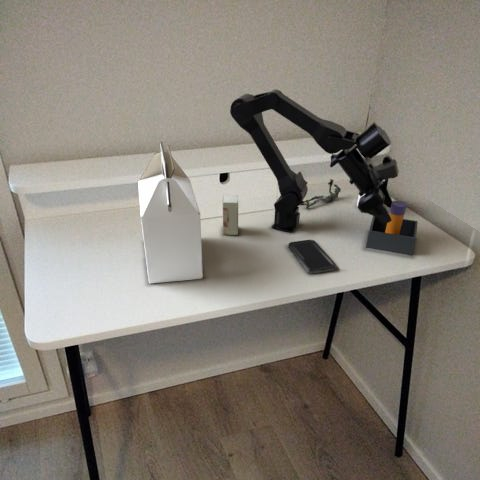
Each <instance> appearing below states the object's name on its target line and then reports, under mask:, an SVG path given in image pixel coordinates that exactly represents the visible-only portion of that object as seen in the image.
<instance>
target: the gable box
mask: <svg viewBox="0 0 480 480" xmlns="http://www.w3.org/2000/svg"><path fill="white" fill-rule="evenodd" d="M159 145H160V146H159V147H160V151H158V152H156V153H154V154H153V156H152V157H151V159H150V160H149V162H148V165H146V168H145V170H144V171H143V173H142V174H141V176H140V178H139V180H138V181H137V187H138V189H137V190H138V201H139V214H140V224H141V232H142V240H143V248H144V255H145V264H146V272H147V279H148V283H149V284H161V283H170V282H171V283H173V282H179V281H180V282H181V281H192V280H202V279H203V276H204V273H203V272H204V271H203V249H202V248H203V247H202V225H201V224H202V222H201V220H202V219H201V212H200V207H199V205H198V202H197V199H196V196H195V195H196V194H195V192H194V189H193V186H192V182H191V179H190V178H189V177H188V176H187V174H186V173H185V171H184V170H183V169H182V167H181V166H180V165H179V164H178V162H177V161H176V160H175V159H174V157H173V156H172V152H171V148H170V145H167V147H166V150H165V148H164V143H163V141H159Z"/></svg>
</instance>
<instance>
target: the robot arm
mask: <svg viewBox="0 0 480 480" xmlns="http://www.w3.org/2000/svg"><path fill="white" fill-rule="evenodd" d="M229 109H230V110H229V113H230V117H231V118H232V119H233V121H235V123H236V125H238V126H239V127H240V128H241V129H242V130H244V131H245V132H246V133H247V134H248V135H249V136H250V137H251V139H252V140H253V142H254V144H255V146H256V147H257V149H258V151H259V152H260V154H261V155H262V157H263V159H264V161H265V162H266V164H267V166H268V167H269V169H270V171H271V172H272V174H273V175H274V177H275V179H276V181H277V186H278V192H279V194H280V195H279V196H278V198H277V199H276V201H275V202H274V204H273V207H274V219H273V220H274V221H273V224H272V225H271V229H275V230H278V231H283V232H287V233H293V232H294V231H295V230H296V229H297V228H298V227H300V218H301V213H300V211H299V210H300V207H299V206H301V205H300V204H301V203H302V201H304V199H305V197H306V196H307V194H308V190H309V189H308V181H307V180H305V178H304V175H303V174H302V172H301V171H298V172H297V173H296V172H294V171H293V170H292V169H291V168H290V166H289V164H288V162H287V160H286V159H285V157H284V155H283V154H282V152H281V150H280V148H279V147H278V145H277V144H276V142H275V140H274V138H273V136H272V135H271V133H270V132H269V130H268V128H267V127H266V125H265V122H264V115H263V113H264V112H266V111H270V110H271V111H272V110H273V111H274V112H276V113H277V114H279V115H280V116H282V117H283V118H285V119H286V120H287V121H289V122H291V123H292V124H294V125H296V126H297V127H298V128H300V129H301V130H302V131H304V132H306V133H307V134H309V135H310V136H311V137H312V139H313V140H314V142H315V143H316V144H317V145H318V146H319V147H320V148H321V149H322V150H323V151H324V152H326V153H327V154H329V155H330V164H329V167H330V168H333V167H335V166H336V165H339V166H340V168H341V169H342V171H343V172H344V173H345V174H346V176H347V177H348V178H349V181H348V182H349V184H350V185H354V186H355V187H356V189H357V190H358V195H360V196H362V197H361V198H360V200H359V203H358V206H357V209H358V211H360V213H361V214H368V215H370V216H372V217H373V216H375V217H377V218H379V219H381V220H384V221H386V222H388V223H389V222H391V221H392V219H391V217H390V215H389V213H390V212H389V211H388V209H387V208H386V207H388V208H389V209H390V208H391V204H392V202H393V200H392V196H391V193H390V192H389V189H388V188H387V185H388V186H389V183H388V180H389V181H390V179H396V178H398V177H399V168H398V167H399V166H398V162H397V160H396V159H395V158H394V159H393V158H392V157H391V156H390V155H387V156H383V158H382V163H378V164H377V165H374V164H373V163H372V162H367V160H365V159H368V158H369V159H373V158H374V157H376V156H377V155H379V154H380V153H381V152H383V151H384V150H385V149H386V148H389V146H391V145H392V142H391V139H390V137H389V135H388V133H387V132H386V131H385V129H383V128H382V127H381V126H379V125H378V124H377V122H375V121H373V122H372V123H370V125H369V126H367V128H366V129H365V130H363V131H362V132H360V133H358V132H354V131H351V130H347V129H346V128H345V127H344V126H343V125H341V124H339V123H336V122H334V121H332V120H327V119H324V118H321V117H319V116H317V115H316V114H314V113H313V112H311V111H310V110H308V109H306V108H305V107H303V106H302V105H301V104H299V103H298V102H296V101H295V100H293V99H291V98H290V97H289V96H287V95H285V94H284V93H283V92H282V91H281V90H280V89H276V88H275V89H272V90H270V91H266V92H261V93H257V94H251V93H244V94H242V95H240V96H239V97H237V98H236V99H234V100H233V101H232V102H231V105H230V108H229ZM383 180H384V181H383ZM364 194H365V195H364ZM363 195H364V196H363Z"/></svg>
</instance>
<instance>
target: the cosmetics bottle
mask: <svg viewBox="0 0 480 480" xmlns="http://www.w3.org/2000/svg"><path fill="white" fill-rule="evenodd" d="M222 235H227V236H228V235H230V236H238V235H239V194H223V196H222Z"/></svg>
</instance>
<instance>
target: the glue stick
mask: <svg viewBox="0 0 480 480" xmlns="http://www.w3.org/2000/svg"><path fill="white" fill-rule="evenodd" d="M407 206H408V203H406V202H405V201H403V200H392V204H391V208H389V212H388V213H389V215H390V217H391V219H392V221H391V222H389V223H388V222H387V226H386V231H385V233H389V234H395V235H399V233H400V229H401V225H402V221H403V219H405V218H404V217H405V214H406V210H407Z"/></svg>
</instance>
